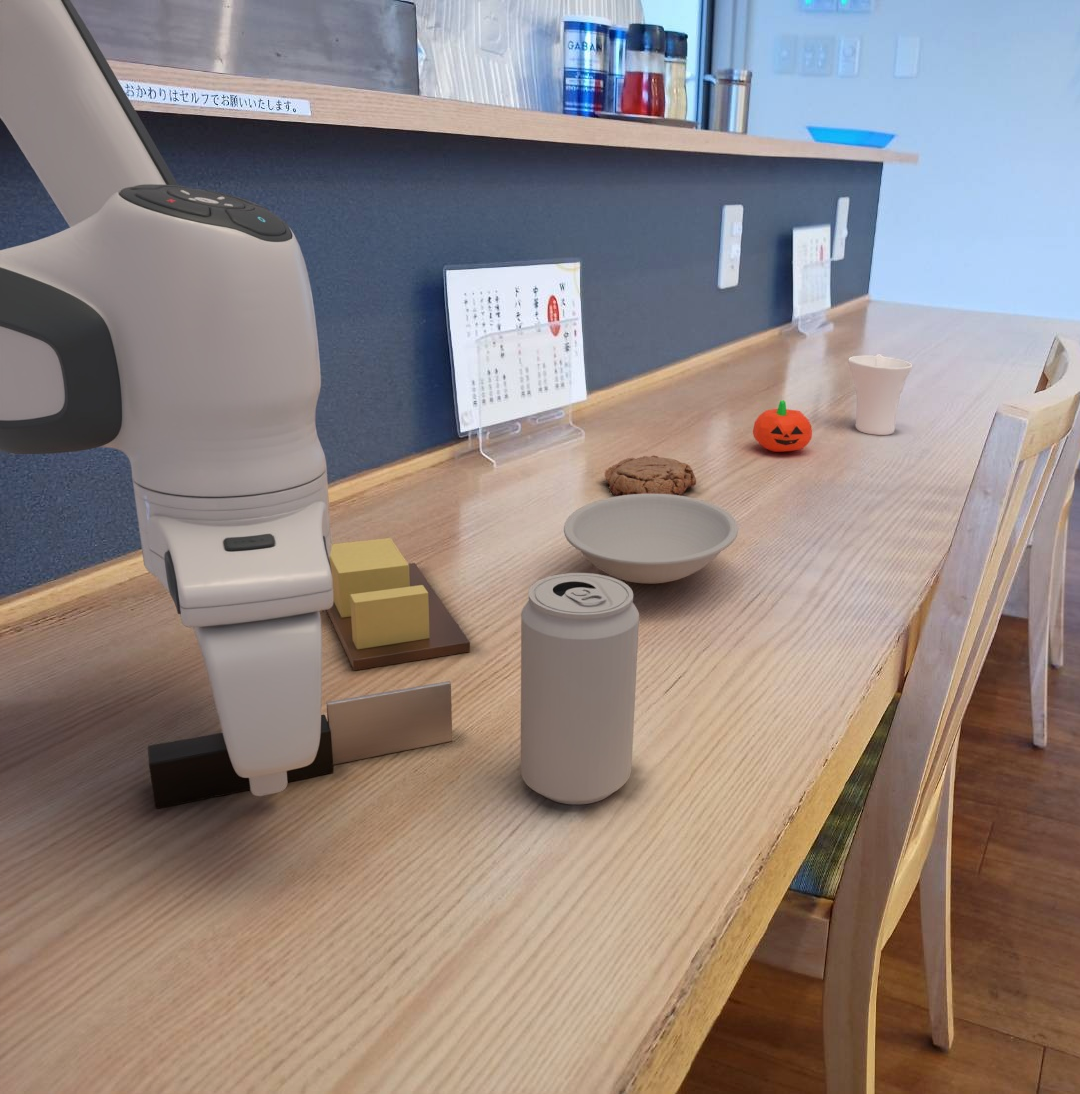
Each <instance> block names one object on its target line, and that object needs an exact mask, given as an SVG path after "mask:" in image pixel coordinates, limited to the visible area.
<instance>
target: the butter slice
mask: <svg viewBox="0 0 1080 1094" xmlns="http://www.w3.org/2000/svg"><path fill="white" fill-rule="evenodd" d="M350 605H351V622H352V638H353V642H354V644H355V646H356V648H357V650H358V649H365V648H371V647H378V646H384V645H390V644H397V643H403V642H409V641H416V640H422V639H428V638H429V605H428V592H427V590H426V589H425V588H424V586H423V585H418V586H411V587H403V588H395V589H388V590H380V591H373V592H365V593H357V594H350Z"/></svg>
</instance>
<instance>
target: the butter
mask: <svg viewBox="0 0 1080 1094" xmlns="http://www.w3.org/2000/svg"><path fill="white" fill-rule="evenodd" d="M329 560H330V565H331V573H332V582H333V598H334V603H335V605H336V607H337V609H338V611H339V613H340V615H341V617H342V618H344V617H351V605H350V594H357V593H365V592H373V591H380V590H388V589H395V588H403V587H410V581H409V564H410V563H408V561H407V560H406V559H405V557H404V555H403V554H402V553H401V551H400V550H399V548H398V546H397V545H396V544H395V542H394V541H393V539H392V538H391V537H386V538H378V539H377V538H376V539H368V540H359V541H358V540H357V541H350V542H349V541H347V542H339V543H332V550H331V553H330V556H329Z"/></svg>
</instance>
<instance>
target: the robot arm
mask: <svg viewBox="0 0 1080 1094" xmlns="http://www.w3.org/2000/svg"><path fill="white" fill-rule="evenodd" d="M0 119H1V121H2V122H3V124H4V125H5V127H6V128H7V130H8V131H9V133H10V134H11V135H12V138H13V139H14V141H15V143H16V145H18V148H19V149H20V150H21V152H22V153H23V155H24V157H25V158H26V160H27V162H28V163H29V164H30V165H29V166H31V168H32V170H33V171H34V172H35V174H36V176H37V177H38V179H39V181H40V182H41V184H42V185H43V187H44V188H45V190H46V192H47V193H48V195H49V196H50V198H51V199H52V201H53V203H54V204H55V206H56V208H57V209H58V211H59V213H60V214H61V215H62V217H63V219H64V220H65V222H66V223H67V225H68V228H65V229H64V230H62V231H59V232H56V233H54V234H52V235H49V236H46V237H42V238H40V239H37V240H34V241H31V242H27V243H24V244H20V245H16V246H12V247H7V248H4V249H0V452H3V453H8V454H12V455H13V454H14V455H47V454H48V455H49V454H61V453H63V454H64V453H74V452H80V451H86V450H87V451H88V450H93V449H97V448H110V449H114V450H118V451H120V452H121V453H123V454H124V455H126V457H127V459H128V461H129V464H130V468H131V478H132V479H131V481H132V487H133V492H134V493H133V494H134V502H135V510H136V517H137V523H138V531H139V538H140V547H141V553H142V562H143V566H144V568H145V569H146V571H147V572H148V573H149V574H150V575H152V576H154V577H155V578H157V579H158V581H159V582H160V584H161V585H162V586H163V587H164V588H165V590H166V591H167V592H168V593H169V594H170V597H171V599H172V601H173V603H174V606H175V607H176V608H175V609H176V612H177V615H180V620H181V623H182V625H183V626H184V627H185V628H187V629H188V628H192V630H193V632H194V635H195V638H196V641H197V643H198V646H199V650H200V653H201V657H202V660H203V663H204V666H205V671H206V674H207V678H208V682H209V686H210V690H211V694H212V698H213V702H214V705H215V709H216V713H217V717H218V721H219V725H220V729H221V733H223V737H224V741H225V744H226V748H227V751H228V754H229V757H230V760H231V763H232V766H233V768H234V770H235V772H236V773H237V774H238V775H239V776H240V777H243V778H248V779H249V785H250V792H251V794H252V795H253V796H255V797H263V796H268V795H273V794H278V793H282V792H283V791H284V790H285V789H286V788H287V786H288V782H287V771H288V770H293V769H297V768H302V767H305V766H308V765H310V764H311V763H312V762H313V761H314V759H315V757H316V754H317V751H318V748H319V743H320V734H321V715H322V707H323V706H322V704H323V703H322V702H323V701H322V699H323V698H322V697H323V685H322V684H323V633H322V619H321V612H322V611H327V609H330V608H331V607H332V606H333V601H334V598H333V582H332V573H331V565H330V560H329V556H330V553H331V550H332V544H333V543H332V531H331V515H330V498H329V483H328V481H329V480H328V468H327V460H326V455H325V451H324V449H323V447H322V444H321V441H320V439H319V436H318V432H317V426H316V425H317V423H316V413H317V412H316V411H317V405H318V400H319V397H320V392H321V386H322V374H321V363H320V362H321V361H320V360H321V359H320V349H319V337H318V330H317V329H318V328H317V321H316V313H315V306H314V298H313V292H312V287H311V283H310V277H309V273H308V272H309V271H308V268H307V264H306V261H305V257H304V255H303V252H302V249H301V246H300V243H299V242H298V239H297V237H296V235H295V234H294V231H293V230H292V229H291V227H290V226H289V225H288V224H287V222H286V221H285V220H283V219H282V218H280V217H279V216H278V215H277V214H275V213H273V212H272V211H271V210H270V209H268V208H267V207H265V206H263V205H260V204H258V203H255V202H254V201H251V200H248V199H245V198H241V197H238V196H236V195H235V196H234V195H231V194H229V193H228V194H227V193H224V192H218V191H214V190H210V189H199V188H198V189H197V188H190V187H188V186H184V185H179V184H178V182H177V180H176V178H175V177H174V175H173V173H172V172H171V170H170V168H169V166H168V165H167V163H166V161H165V159H164V157H163V156H162V154H161V152H160V151H159V149H158V148H157V145H156V143H155V142H154V141H153V139H152V137H151V136H150V134H149V132H148V130H147V128H146V126H145V125H144V123H143V122H142V120H141V118H140V116H139V114H138V112H137V111H136V109H135V107H134V105H133V104H132V102H131V100H130V99H129V97H128V95H127V94H126V92H125V90H124V88H123V86H122V84H121V83H120V81H119V79H118V78H117V76H116V74H115V73H114V71H113V69H112V68H111V65H110V64H109V62H108V61H107V58H106V57H105V55H104V54H103V52H102V50H101V49H100V47H99V45H98V43H97V42H96V40H95V39H94V36H93V35H92V33H91V31H90V30H89V28H88V27H87V25H86V24H85V22H84V20H83V19H82V17H81V15H80V14H79V12H78V10H77V8H76V7H75V6H74V4H73V3H72V1H71V0H0Z"/></svg>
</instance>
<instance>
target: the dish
mask: <svg viewBox="0 0 1080 1094" xmlns="http://www.w3.org/2000/svg"><path fill="white" fill-rule="evenodd" d="M563 533H564V537H565V539H566V541H567V542H568V543H569V544H570V545H571V546H572V547H573V548H575V549H577V551H580V553H581V554H582V555H583V556H584V557H585V558H586V560H588V561H589V562H590V563H591V564H592V565H593V566H595V567H596V568H597V569H599V570H600V571H602V572H604V573H605V574H607V575H608V576H610V577H612V578H615V579H618V580H620V581H625V582H630V583H635V584H636V583H637V584H649V585H650V584H664V583H665V584H666V583H670V582H674V581H678V580H682V579H684V578H686V577H689V576H691V575H693V574H695V573H697V572H699V571H700V570H702V569H703V568H705V567H706V566H708V565H709V564H710V563H711V562H712V561H713V560H714V559H715V558H716V557H717V556H718V555H719V554H720V553H722V551H724V550H725V549H727V548H729V547H730V546H731V545H732V544H733V543H734V542H735V540H736V538H737V537H738V534H739V525H738V521H737V520H736V518H735V516H733V515H732V514H731V513H730V512H729V511H727V510H726V509H724V508H723V507H721V506H719V505H717V504H715V503H712V502H709V501H706V500H703V499H700V498H696V497H690V496H686V495H671V494H631V495H622V496H611V497H607V498H603V499H599V500H595V501H593V502H590V503H587V504H586V505H583V506H581V507H580V508H578V509H576V510H575V511H573V512H572V513H571V514H570V515H569V516H568V517H567V518H566V520H565V522H564V525H563Z"/></svg>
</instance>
